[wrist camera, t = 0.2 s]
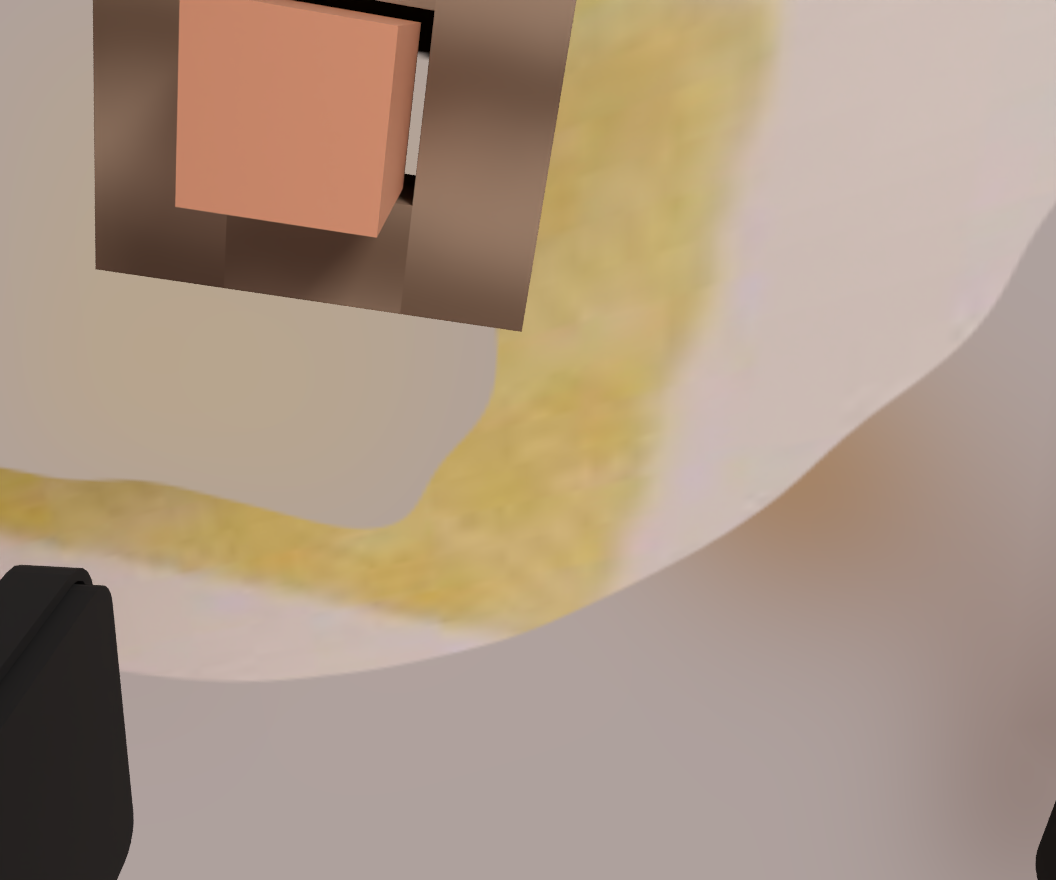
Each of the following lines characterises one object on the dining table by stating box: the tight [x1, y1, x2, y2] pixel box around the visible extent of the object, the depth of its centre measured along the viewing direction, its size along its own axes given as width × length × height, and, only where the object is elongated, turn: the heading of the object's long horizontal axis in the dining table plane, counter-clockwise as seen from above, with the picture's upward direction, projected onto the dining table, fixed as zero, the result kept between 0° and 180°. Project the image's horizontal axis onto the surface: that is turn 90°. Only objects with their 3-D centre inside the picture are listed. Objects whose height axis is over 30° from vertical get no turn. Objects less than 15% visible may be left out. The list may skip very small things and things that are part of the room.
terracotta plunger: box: [175, 0, 421, 238], centre depth 27 cm, size 5×5×8 cm
